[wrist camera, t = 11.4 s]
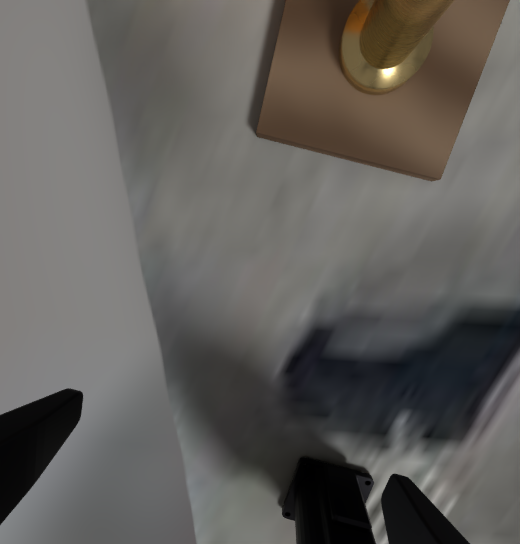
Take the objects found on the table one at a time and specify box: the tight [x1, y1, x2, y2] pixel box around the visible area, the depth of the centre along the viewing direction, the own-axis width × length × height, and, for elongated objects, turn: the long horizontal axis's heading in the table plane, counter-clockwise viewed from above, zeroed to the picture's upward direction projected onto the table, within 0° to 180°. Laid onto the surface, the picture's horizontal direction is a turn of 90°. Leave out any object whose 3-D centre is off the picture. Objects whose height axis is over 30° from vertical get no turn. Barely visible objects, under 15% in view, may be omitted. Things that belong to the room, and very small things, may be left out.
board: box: [256, 0, 510, 181], centre depth 16 cm, size 12×12×1 cm
